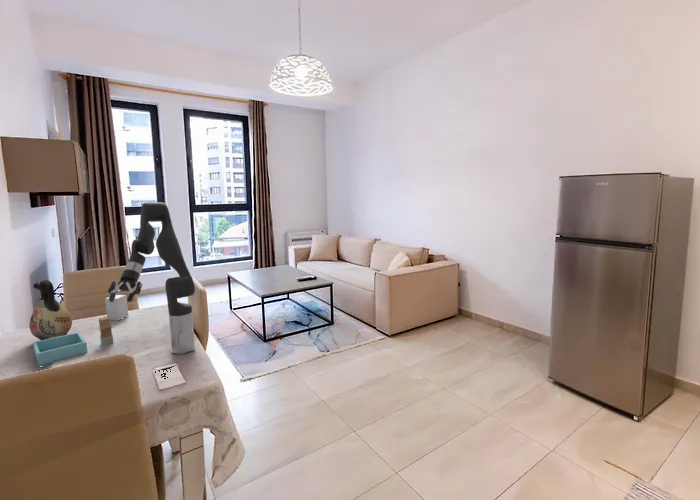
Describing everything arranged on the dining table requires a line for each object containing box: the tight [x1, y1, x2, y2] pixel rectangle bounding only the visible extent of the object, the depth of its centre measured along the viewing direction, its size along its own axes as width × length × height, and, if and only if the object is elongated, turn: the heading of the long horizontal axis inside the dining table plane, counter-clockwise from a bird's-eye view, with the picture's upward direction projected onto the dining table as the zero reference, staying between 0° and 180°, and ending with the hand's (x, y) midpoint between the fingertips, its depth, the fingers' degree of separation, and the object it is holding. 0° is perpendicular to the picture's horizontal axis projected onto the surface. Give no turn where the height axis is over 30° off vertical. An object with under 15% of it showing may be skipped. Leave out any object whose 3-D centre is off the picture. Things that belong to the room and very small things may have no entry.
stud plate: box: [91, 337, 124, 351], centre depth 160 cm, size 10×10×5 cm
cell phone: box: [152, 362, 179, 379], centre depth 134 cm, size 9×18×1 cm, turn 36°
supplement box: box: [104, 294, 129, 321], centre depth 196 cm, size 7×7×13 cm
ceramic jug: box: [28, 279, 73, 341], centre depth 165 cm, size 17×15×30 cm
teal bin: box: [32, 331, 88, 368], centre depth 151 cm, size 16×16×6 cm
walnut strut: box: [98, 316, 114, 346], centre depth 159 cm, size 4×4×12 cm
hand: (119, 301), depth 169 cm, fingers open, 8 cm apart
